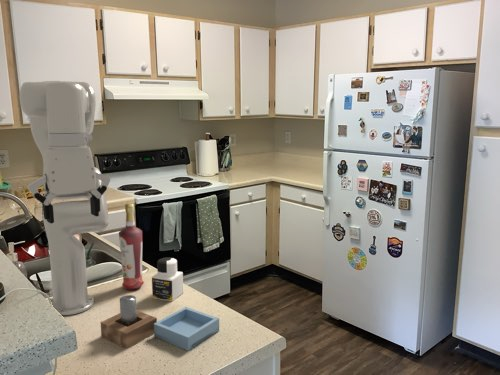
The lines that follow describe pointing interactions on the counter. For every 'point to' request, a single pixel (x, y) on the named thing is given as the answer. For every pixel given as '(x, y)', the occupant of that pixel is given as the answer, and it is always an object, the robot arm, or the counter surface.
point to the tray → (186, 328)
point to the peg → (128, 310)
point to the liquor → (131, 251)
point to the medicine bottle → (167, 280)
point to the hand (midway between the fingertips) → (73, 218)
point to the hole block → (128, 329)
